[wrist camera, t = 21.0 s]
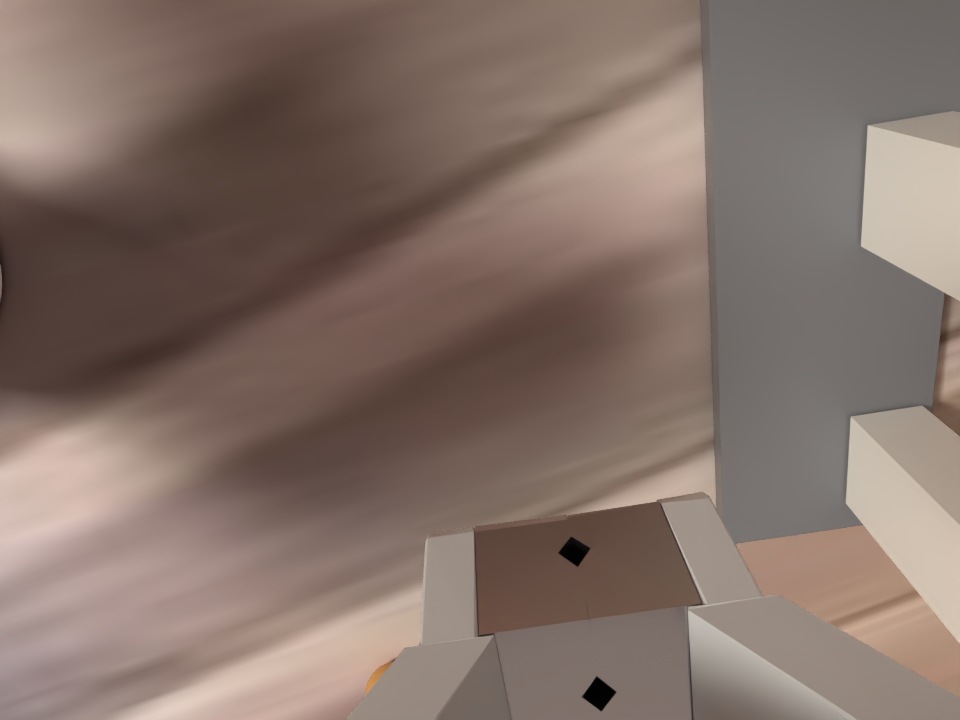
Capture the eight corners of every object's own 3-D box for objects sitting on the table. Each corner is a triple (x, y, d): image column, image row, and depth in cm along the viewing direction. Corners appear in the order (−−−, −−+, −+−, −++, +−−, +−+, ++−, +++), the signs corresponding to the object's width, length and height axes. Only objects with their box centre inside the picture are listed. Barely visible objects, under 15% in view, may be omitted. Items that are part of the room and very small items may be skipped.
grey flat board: (717, 533, 47) (723, 545, 46) (690, -316, 29) (699, -329, 28) (909, 504, 46) (920, 516, 45) (997, -374, 29) (1018, -390, 28)
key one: (845, 503, 44) (973, 660, 34) (850, 416, 42) (989, 555, 31) (917, 492, 44) (1068, 646, 33) (926, 404, 42) (1093, 540, 31)
